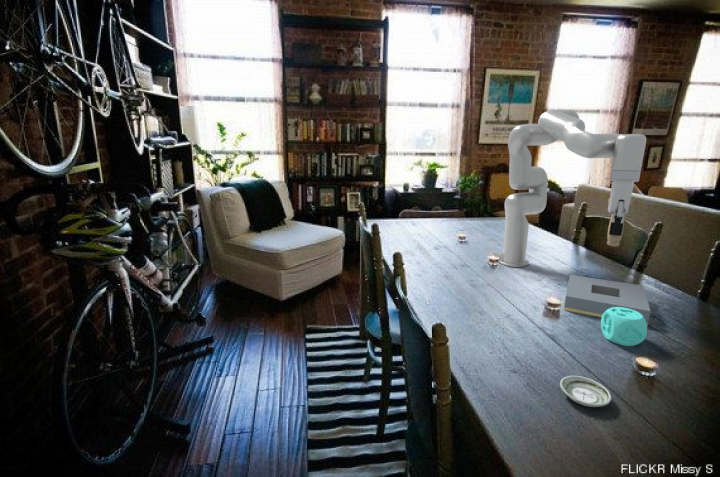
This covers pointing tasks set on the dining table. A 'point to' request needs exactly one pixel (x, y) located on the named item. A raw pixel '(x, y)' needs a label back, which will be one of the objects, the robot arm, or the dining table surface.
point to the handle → (614, 239)
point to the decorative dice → (623, 326)
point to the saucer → (585, 391)
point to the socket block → (604, 296)
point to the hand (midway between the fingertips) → (614, 232)
